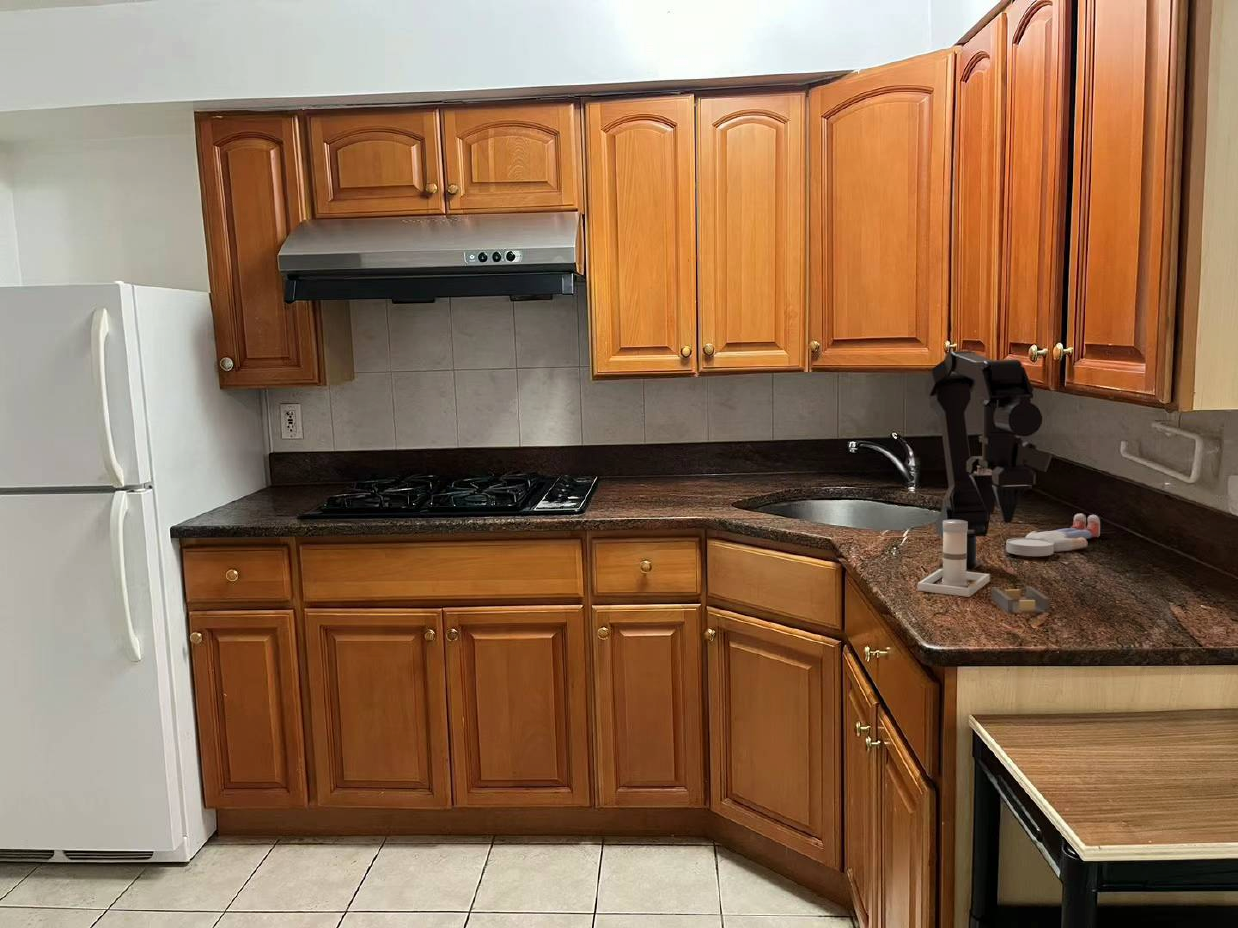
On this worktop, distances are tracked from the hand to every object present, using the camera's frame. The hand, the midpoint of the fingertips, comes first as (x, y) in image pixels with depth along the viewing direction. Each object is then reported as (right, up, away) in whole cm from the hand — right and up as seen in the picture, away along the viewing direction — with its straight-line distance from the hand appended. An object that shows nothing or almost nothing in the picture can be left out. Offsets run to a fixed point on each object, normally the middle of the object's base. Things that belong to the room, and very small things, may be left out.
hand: (998, 517), depth 173 cm
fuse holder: (-2, -15, -13) cm, 20 cm away
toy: (+25, -9, +33) cm, 42 cm away
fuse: (-8, -13, 0) cm, 15 cm away
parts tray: (-8, -13, 0) cm, 16 cm away
